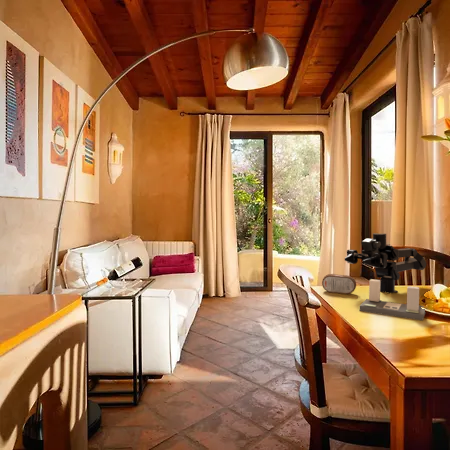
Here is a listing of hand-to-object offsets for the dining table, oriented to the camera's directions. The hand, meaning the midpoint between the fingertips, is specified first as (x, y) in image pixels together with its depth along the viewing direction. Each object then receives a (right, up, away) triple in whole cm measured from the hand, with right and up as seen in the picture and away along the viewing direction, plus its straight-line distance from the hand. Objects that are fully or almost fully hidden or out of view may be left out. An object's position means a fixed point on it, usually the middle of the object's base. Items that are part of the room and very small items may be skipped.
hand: (353, 260), depth 149 cm
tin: (-3, -16, +11) cm, 20 cm away
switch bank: (+8, -17, -18) cm, 26 cm away
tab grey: (+12, -15, -24) cm, 31 cm away
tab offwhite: (+4, -14, -12) cm, 19 cm away
